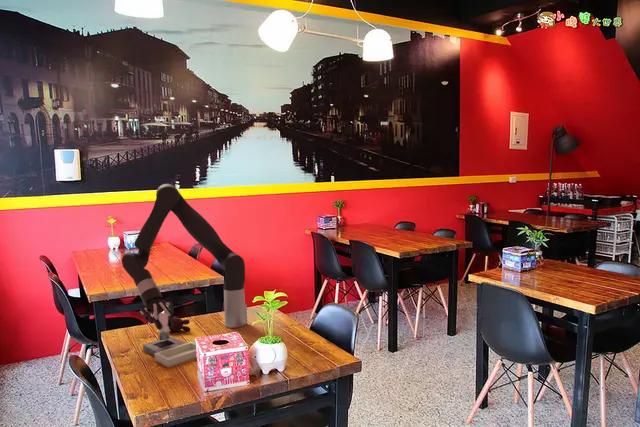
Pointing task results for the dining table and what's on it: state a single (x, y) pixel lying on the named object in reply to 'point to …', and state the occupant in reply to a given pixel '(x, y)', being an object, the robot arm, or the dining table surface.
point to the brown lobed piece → (179, 324)
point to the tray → (176, 355)
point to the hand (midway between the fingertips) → (166, 327)
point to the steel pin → (163, 326)
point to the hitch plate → (161, 345)
